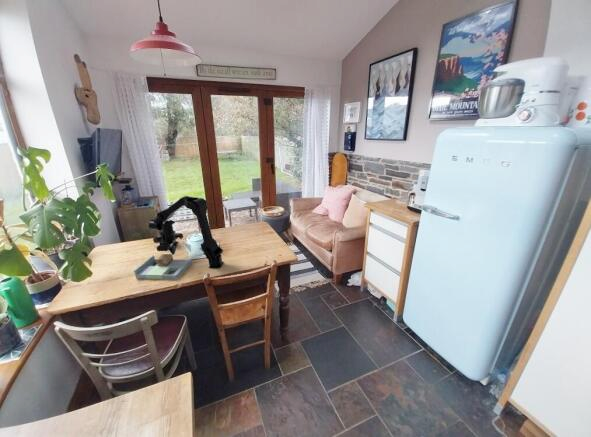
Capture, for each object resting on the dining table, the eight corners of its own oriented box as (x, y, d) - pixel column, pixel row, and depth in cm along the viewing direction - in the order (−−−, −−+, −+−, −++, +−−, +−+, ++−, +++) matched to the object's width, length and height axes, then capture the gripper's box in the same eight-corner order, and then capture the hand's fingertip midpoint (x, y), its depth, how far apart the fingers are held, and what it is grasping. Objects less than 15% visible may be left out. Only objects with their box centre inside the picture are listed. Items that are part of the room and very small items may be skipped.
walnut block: (173, 260, 142) (172, 254, 141) (167, 265, 136) (166, 259, 135) (163, 260, 143) (162, 254, 141) (157, 265, 137) (155, 259, 135)
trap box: (191, 263, 143) (189, 256, 141) (176, 279, 128) (175, 271, 126) (154, 262, 145) (152, 255, 143) (136, 278, 130) (133, 270, 128)
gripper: (164, 224, 150) (169, 247, 156) (144, 237, 133) (151, 262, 138) (181, 224, 149) (185, 247, 155) (163, 237, 132) (169, 262, 138)
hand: (173, 254), depth 146 cm, fingers closed
